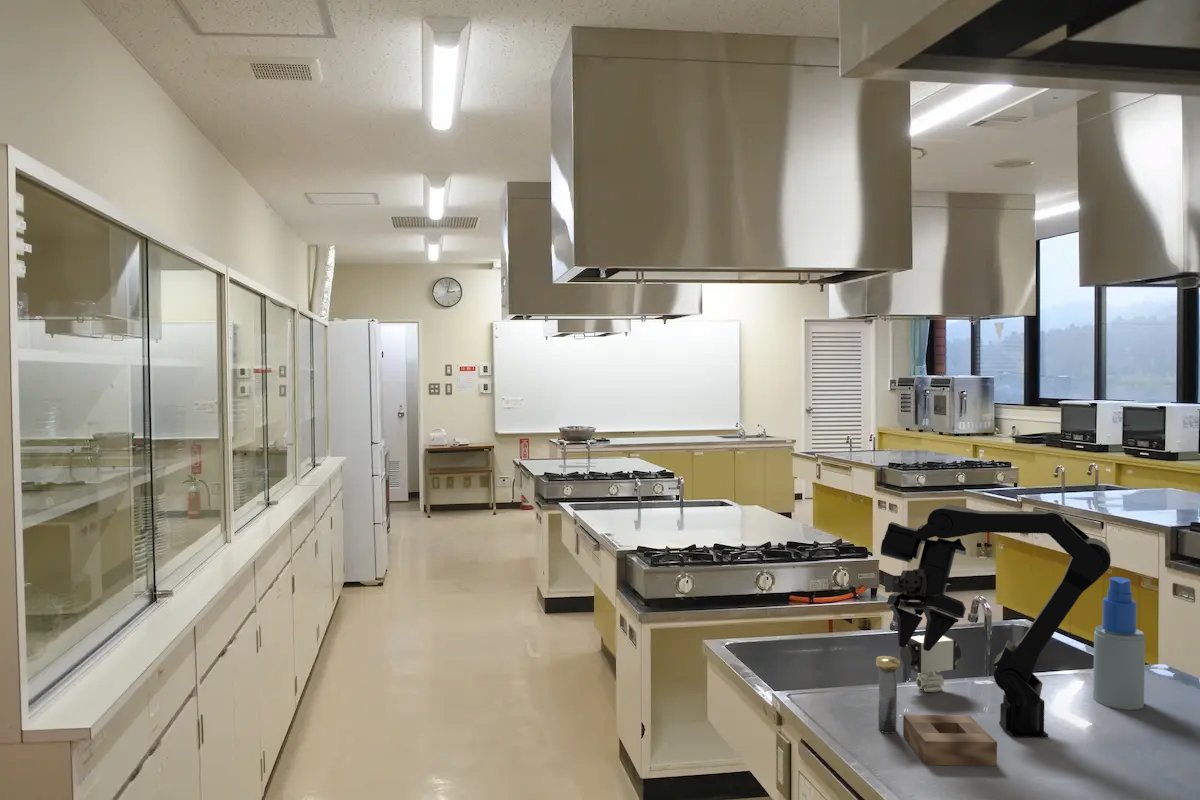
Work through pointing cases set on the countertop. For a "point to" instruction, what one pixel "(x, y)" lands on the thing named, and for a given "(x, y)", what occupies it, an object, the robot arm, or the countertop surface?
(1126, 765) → the countertop surface
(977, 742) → the socket block
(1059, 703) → the countertop surface
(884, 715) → the steel pin
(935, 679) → the pneumatic valve
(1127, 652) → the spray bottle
